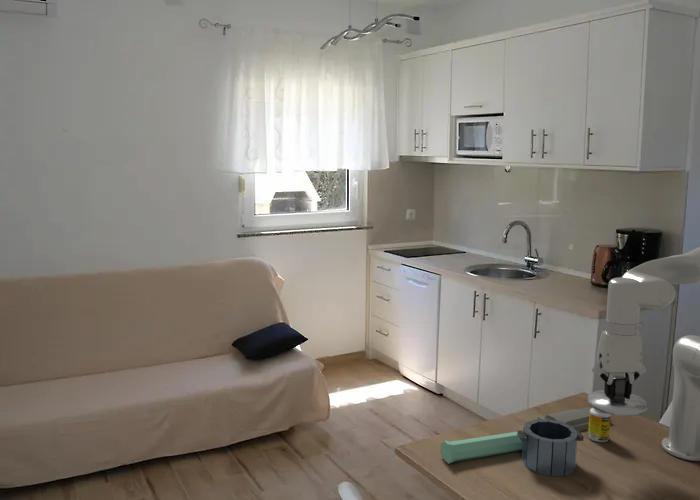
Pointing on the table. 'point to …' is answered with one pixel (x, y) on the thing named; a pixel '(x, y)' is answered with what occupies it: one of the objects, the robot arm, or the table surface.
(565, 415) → the soap mold
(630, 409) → the lid
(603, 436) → the supplement bottle
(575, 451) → the pot
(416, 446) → the table surface
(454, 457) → the mint green octagonal rod
